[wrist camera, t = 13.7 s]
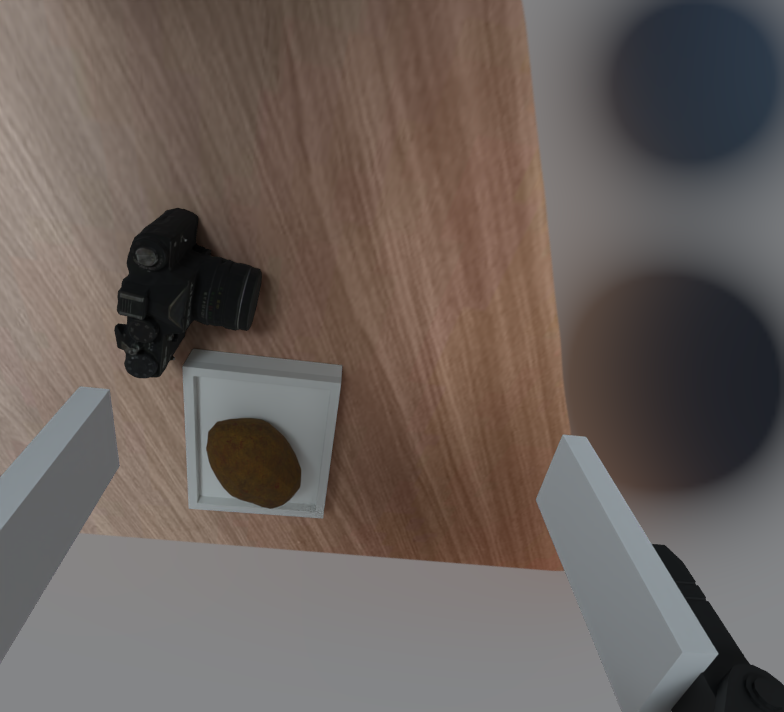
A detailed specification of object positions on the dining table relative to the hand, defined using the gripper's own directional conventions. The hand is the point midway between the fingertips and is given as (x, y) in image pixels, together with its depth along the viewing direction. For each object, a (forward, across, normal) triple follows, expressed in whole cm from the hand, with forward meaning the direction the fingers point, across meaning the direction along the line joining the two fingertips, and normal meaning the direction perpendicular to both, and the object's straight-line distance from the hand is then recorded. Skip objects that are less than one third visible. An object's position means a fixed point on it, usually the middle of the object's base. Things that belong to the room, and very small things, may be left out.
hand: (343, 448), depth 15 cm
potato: (+34, -7, -29) cm, 45 cm away
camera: (+37, -14, -11) cm, 41 cm away
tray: (+37, -7, -29) cm, 47 cm away
